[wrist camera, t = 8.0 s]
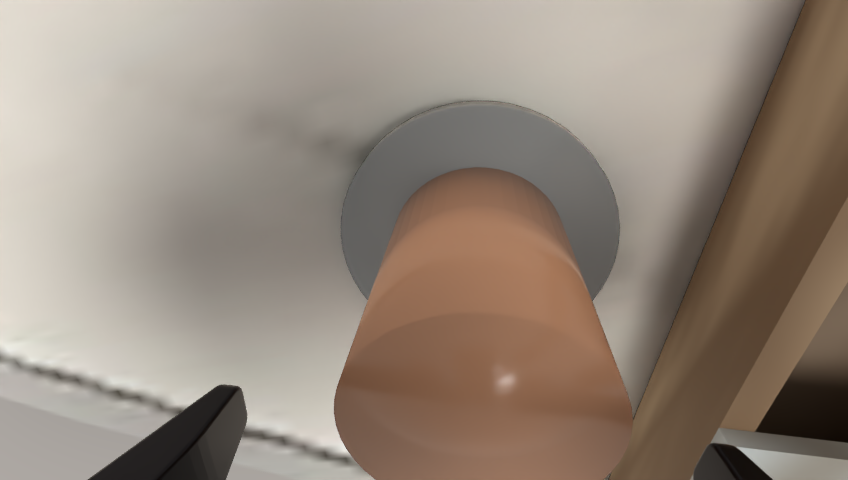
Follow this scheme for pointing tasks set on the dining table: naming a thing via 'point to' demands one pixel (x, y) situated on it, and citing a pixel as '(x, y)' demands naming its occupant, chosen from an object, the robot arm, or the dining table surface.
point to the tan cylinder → (481, 345)
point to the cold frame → (767, 290)
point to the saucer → (488, 148)
